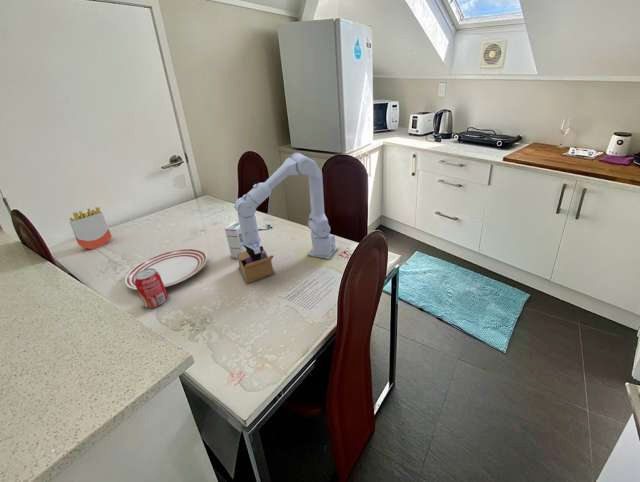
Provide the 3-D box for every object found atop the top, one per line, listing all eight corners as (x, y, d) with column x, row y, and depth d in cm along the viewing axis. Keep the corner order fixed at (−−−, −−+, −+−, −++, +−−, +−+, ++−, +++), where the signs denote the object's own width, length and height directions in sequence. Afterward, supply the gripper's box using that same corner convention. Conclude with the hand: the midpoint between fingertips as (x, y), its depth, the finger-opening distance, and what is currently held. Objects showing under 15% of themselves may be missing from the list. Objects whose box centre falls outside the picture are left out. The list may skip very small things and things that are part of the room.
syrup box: (243, 259, 130) (237, 228, 124) (231, 257, 131) (223, 227, 125) (251, 251, 135) (245, 222, 129) (239, 250, 136) (232, 221, 130)
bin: (273, 273, 121) (271, 259, 118) (247, 283, 116) (244, 268, 113) (264, 259, 129) (261, 246, 127) (239, 267, 124) (236, 253, 122)
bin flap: (270, 259, 118) (271, 260, 118) (244, 268, 113) (244, 269, 113) (272, 255, 113) (273, 256, 113) (245, 264, 108) (245, 265, 108)
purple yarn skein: (264, 259, 122) (263, 252, 121) (267, 263, 119) (266, 256, 118) (246, 265, 118) (244, 258, 117) (248, 270, 116) (247, 263, 114)
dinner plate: (117, 276, 120) (114, 269, 119) (192, 246, 139) (190, 240, 138) (140, 308, 104) (137, 300, 103) (221, 269, 123) (219, 262, 122)
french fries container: (80, 249, 139) (63, 212, 132) (109, 238, 147) (95, 203, 140) (84, 252, 137) (67, 215, 129) (113, 241, 145) (99, 206, 138)
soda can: (151, 296, 110) (140, 267, 105) (172, 294, 110) (162, 266, 105) (139, 310, 103) (127, 281, 98) (161, 308, 104) (150, 279, 99)
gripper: (233, 225, 116) (240, 255, 121) (242, 241, 105) (249, 274, 110) (252, 219, 120) (258, 250, 125) (263, 235, 109) (269, 267, 114)
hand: (255, 261), depth 118 cm, fingers closed on purple yarn skein, 4 cm apart
